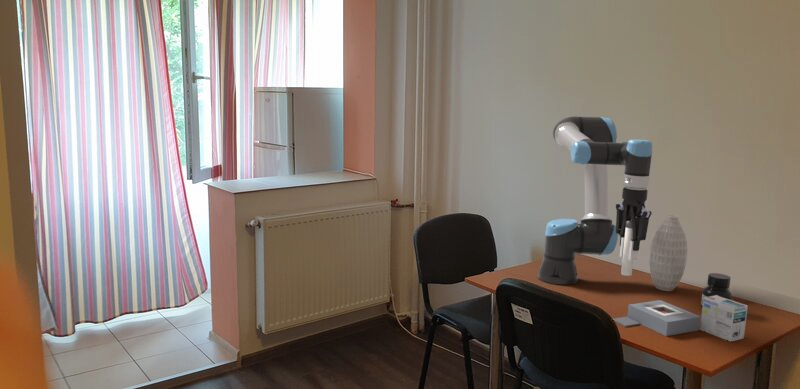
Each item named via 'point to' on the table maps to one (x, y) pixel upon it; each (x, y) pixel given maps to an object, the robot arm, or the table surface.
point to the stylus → (627, 250)
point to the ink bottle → (717, 286)
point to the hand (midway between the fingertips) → (628, 257)
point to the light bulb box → (723, 318)
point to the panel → (664, 317)
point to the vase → (668, 254)
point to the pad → (626, 321)
